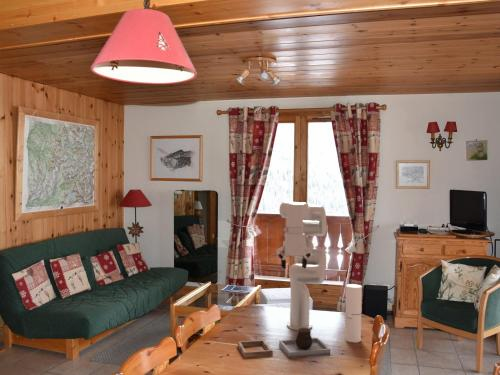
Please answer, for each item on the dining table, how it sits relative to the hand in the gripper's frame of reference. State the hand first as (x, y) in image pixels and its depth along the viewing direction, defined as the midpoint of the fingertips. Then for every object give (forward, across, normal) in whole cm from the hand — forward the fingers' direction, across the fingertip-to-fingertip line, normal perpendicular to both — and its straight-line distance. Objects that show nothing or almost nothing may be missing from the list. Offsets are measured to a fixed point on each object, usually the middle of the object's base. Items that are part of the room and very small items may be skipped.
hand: (294, 268), depth 205 cm
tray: (+33, +1, -12) cm, 35 cm away
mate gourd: (+32, +1, -12) cm, 35 cm away
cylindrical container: (+34, +28, -4) cm, 44 cm away
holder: (+33, -20, -8) cm, 40 cm away
